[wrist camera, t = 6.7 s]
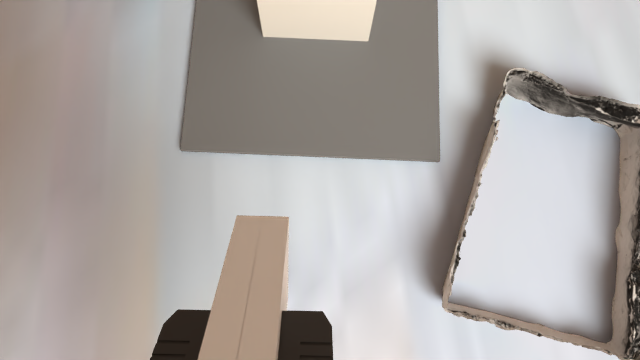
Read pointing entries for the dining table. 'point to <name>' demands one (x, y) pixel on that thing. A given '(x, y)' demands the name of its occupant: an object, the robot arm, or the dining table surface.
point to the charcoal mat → (314, 86)
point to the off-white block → (317, 19)
